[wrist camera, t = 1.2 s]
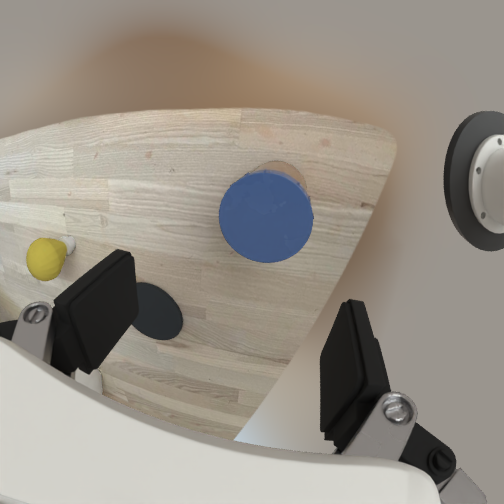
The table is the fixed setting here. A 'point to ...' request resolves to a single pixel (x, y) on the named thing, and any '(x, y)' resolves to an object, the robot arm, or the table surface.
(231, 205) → the lid
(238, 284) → the table surface
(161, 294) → the coaster
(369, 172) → the table surface
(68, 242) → the light bulb
